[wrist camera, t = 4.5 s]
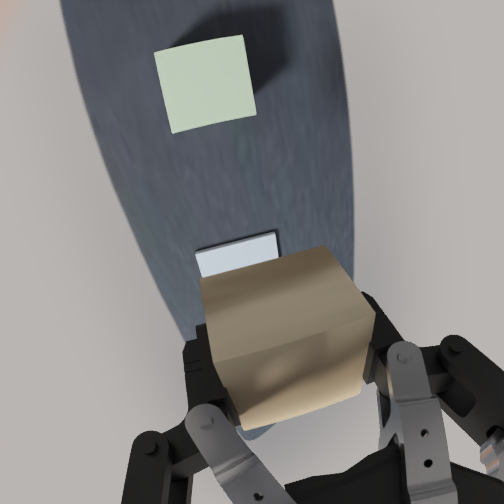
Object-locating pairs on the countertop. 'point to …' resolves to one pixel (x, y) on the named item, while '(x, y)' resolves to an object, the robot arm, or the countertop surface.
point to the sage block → (205, 82)
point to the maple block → (287, 335)
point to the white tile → (237, 254)
